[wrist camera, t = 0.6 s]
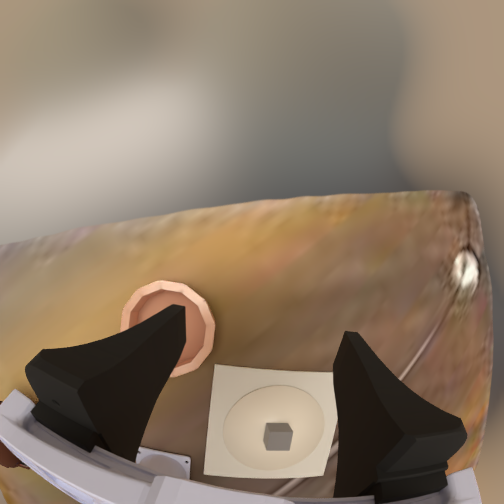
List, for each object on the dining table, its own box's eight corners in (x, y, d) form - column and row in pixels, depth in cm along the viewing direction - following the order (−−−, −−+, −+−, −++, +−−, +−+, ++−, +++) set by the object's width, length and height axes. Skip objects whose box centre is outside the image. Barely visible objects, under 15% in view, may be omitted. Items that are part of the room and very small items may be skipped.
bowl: (209, 373, 34) (208, 383, 29) (129, 358, 33) (117, 365, 28) (220, 290, 36) (219, 289, 31) (138, 278, 35) (127, 274, 30)
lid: (313, 466, 32) (320, 478, 28) (218, 465, 30) (218, 479, 27) (330, 385, 34) (341, 393, 31) (228, 380, 33) (229, 388, 30)
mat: (321, 474, 32) (322, 475, 31) (203, 472, 30) (203, 474, 30) (344, 371, 35) (346, 372, 35) (215, 363, 34) (214, 364, 33)
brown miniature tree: (40, 379, 30) (-22, 400, 15) (76, 441, 29) (28, 483, 14) (7, 395, 28) (-47, 413, 13) (39, 451, 27) (-6, 484, 12)
